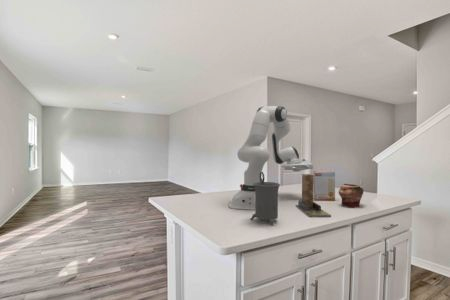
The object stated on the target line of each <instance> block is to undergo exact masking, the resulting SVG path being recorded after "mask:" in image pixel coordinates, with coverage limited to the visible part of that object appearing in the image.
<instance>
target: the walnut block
mask: <svg viewBox="0 0 450 300" xmlns="http://www.w3.org/2000/svg"><path fill="white" fill-rule="evenodd" d="M313 198H314V197H313V174H311V173H302V174H301V200H302V202H304V203H305V204H307V205H308V206H309V208H313V202H314V199H313Z"/></svg>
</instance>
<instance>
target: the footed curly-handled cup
mask: <svg viewBox="0 0 450 300" xmlns="http://www.w3.org/2000/svg"><path fill="white" fill-rule="evenodd" d="M259 178H260V182H256V183H254V184H253V185H254V187H255V210H254V213H253V214H252V216H251V217H250V220H254V219H255V218H256V219H258V220H264V221H269V223H270V225H271V227H274V220H277V219H279V216H278V215H279V200H278V199H279V197H278V196H279V188H280V186H281V184H280V183H279V182H275V181H265V174H264V171H262V172H260V176H259Z"/></svg>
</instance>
